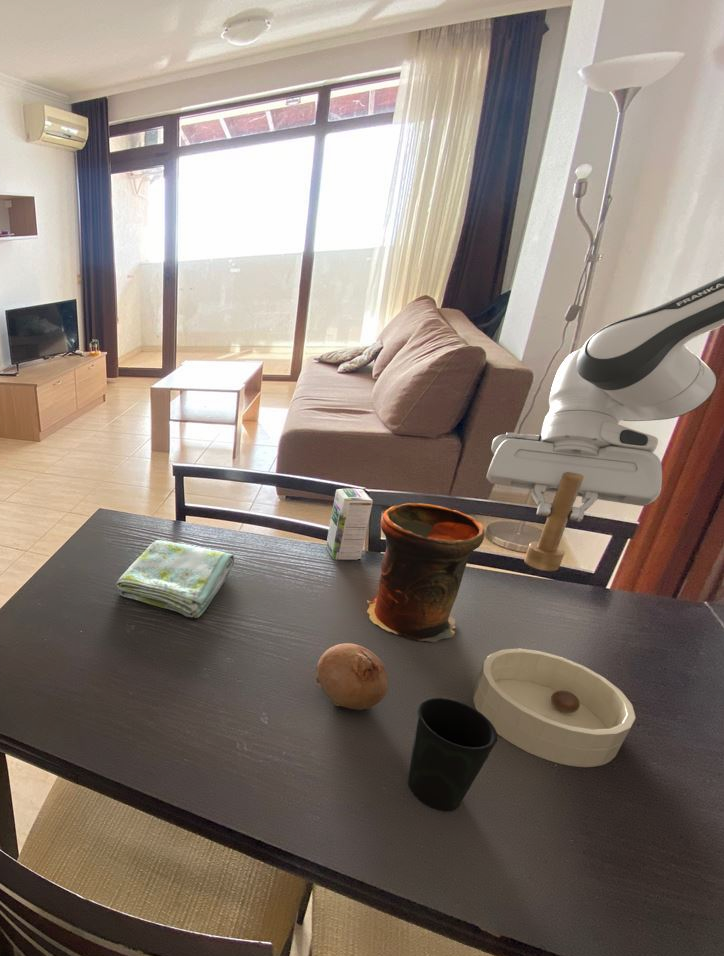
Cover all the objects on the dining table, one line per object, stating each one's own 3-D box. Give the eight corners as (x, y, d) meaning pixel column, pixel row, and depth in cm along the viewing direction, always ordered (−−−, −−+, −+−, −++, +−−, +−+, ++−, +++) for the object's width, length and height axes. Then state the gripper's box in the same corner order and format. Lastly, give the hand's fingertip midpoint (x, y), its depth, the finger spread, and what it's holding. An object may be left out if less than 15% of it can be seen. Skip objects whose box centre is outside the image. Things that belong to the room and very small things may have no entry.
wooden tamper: (551, 558, 90) (583, 470, 83) (564, 572, 86) (599, 481, 79) (519, 555, 91) (548, 468, 85) (530, 569, 88) (562, 479, 81)
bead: (569, 703, 77) (576, 687, 76) (580, 719, 75) (587, 703, 74) (544, 699, 78) (550, 684, 77) (553, 715, 76) (560, 699, 75)
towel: (112, 597, 110) (112, 576, 108) (157, 550, 125) (157, 530, 123) (198, 625, 100) (199, 603, 98) (235, 570, 115) (236, 549, 113)
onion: (366, 728, 80) (403, 707, 73) (302, 703, 82) (331, 679, 75) (369, 671, 86) (403, 646, 78) (309, 649, 88) (337, 622, 80)
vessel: (404, 586, 106) (426, 495, 97) (476, 629, 93) (508, 529, 85) (345, 605, 102) (362, 511, 94) (412, 652, 90) (439, 549, 81)
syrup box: (324, 546, 121) (334, 488, 115) (352, 546, 120) (363, 488, 114) (332, 560, 116) (343, 499, 110) (362, 560, 115) (374, 499, 109)
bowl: (581, 689, 80) (595, 658, 78) (645, 779, 67) (665, 745, 65) (458, 671, 85) (468, 641, 83) (496, 752, 72) (508, 720, 69)
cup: (391, 794, 68) (410, 725, 63) (406, 754, 73) (425, 687, 68) (464, 832, 63) (492, 762, 58) (476, 787, 68) (502, 718, 63)
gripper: (498, 422, 91) (479, 496, 88) (674, 439, 79) (658, 525, 76) (492, 439, 96) (474, 510, 93) (656, 458, 84) (641, 539, 81)
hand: (559, 517), depth 85 cm, fingers closed on wooden tamper, 2 cm apart
